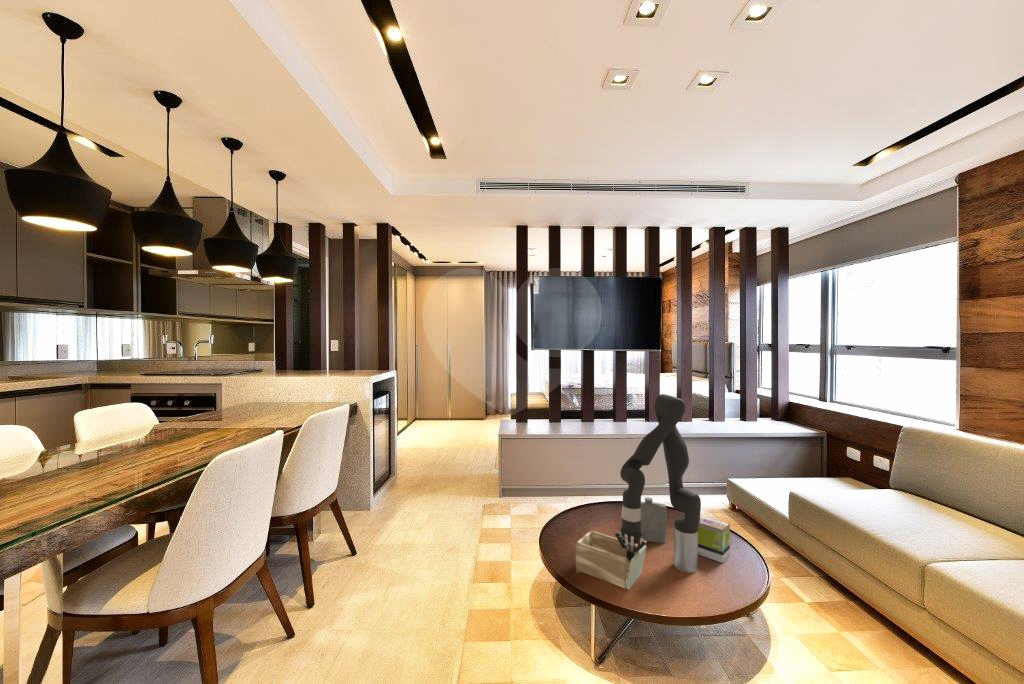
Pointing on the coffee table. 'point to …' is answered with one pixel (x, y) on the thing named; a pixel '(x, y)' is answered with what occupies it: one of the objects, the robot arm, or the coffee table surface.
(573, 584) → the coffee table surface
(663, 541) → the hip flask
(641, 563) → the flat panel
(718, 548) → the tea box
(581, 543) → the box
